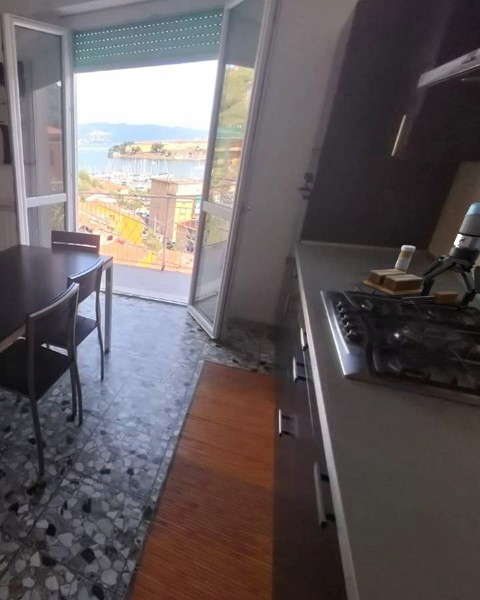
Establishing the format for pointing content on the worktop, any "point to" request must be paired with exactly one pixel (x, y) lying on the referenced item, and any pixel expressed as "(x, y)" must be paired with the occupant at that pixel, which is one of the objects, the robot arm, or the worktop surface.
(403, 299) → the knife
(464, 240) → the robot arm
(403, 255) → the sprinkles bottle
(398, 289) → the cake
